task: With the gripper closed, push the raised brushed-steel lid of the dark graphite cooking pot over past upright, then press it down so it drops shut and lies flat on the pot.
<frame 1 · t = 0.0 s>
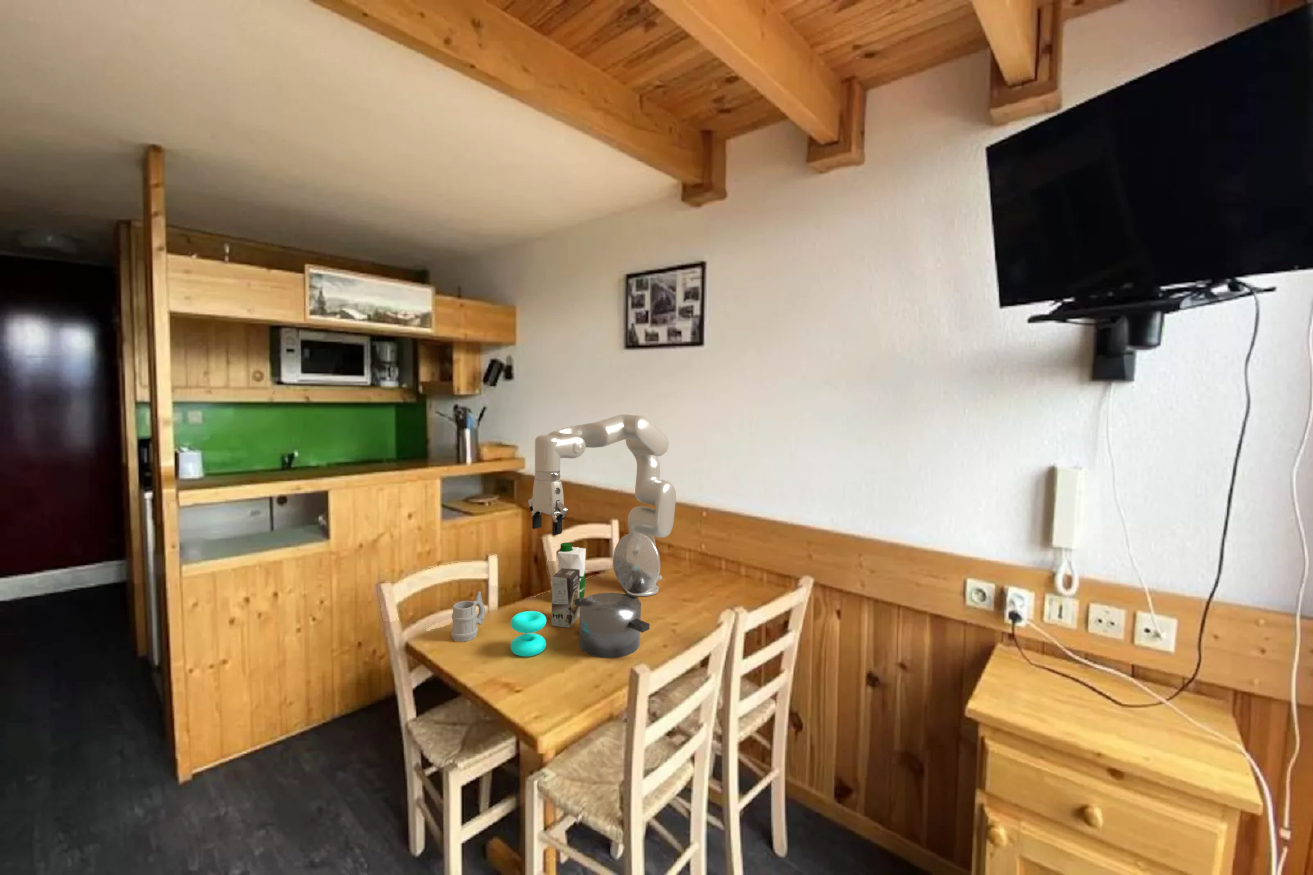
hand: (546, 531, 171), 31 cm above the table, tool pointing down, fingers open, 9 cm apart
donuts: (528, 650, 161), on the table
cooker pot: (609, 642, 167), on the table
lid: (637, 562, 173), point 22 cm above the table, hinge at -98.0°
coffee box: (565, 621, 181), on the table
mug: (469, 634, 170), on the table
milk carton: (571, 600, 198), on the table
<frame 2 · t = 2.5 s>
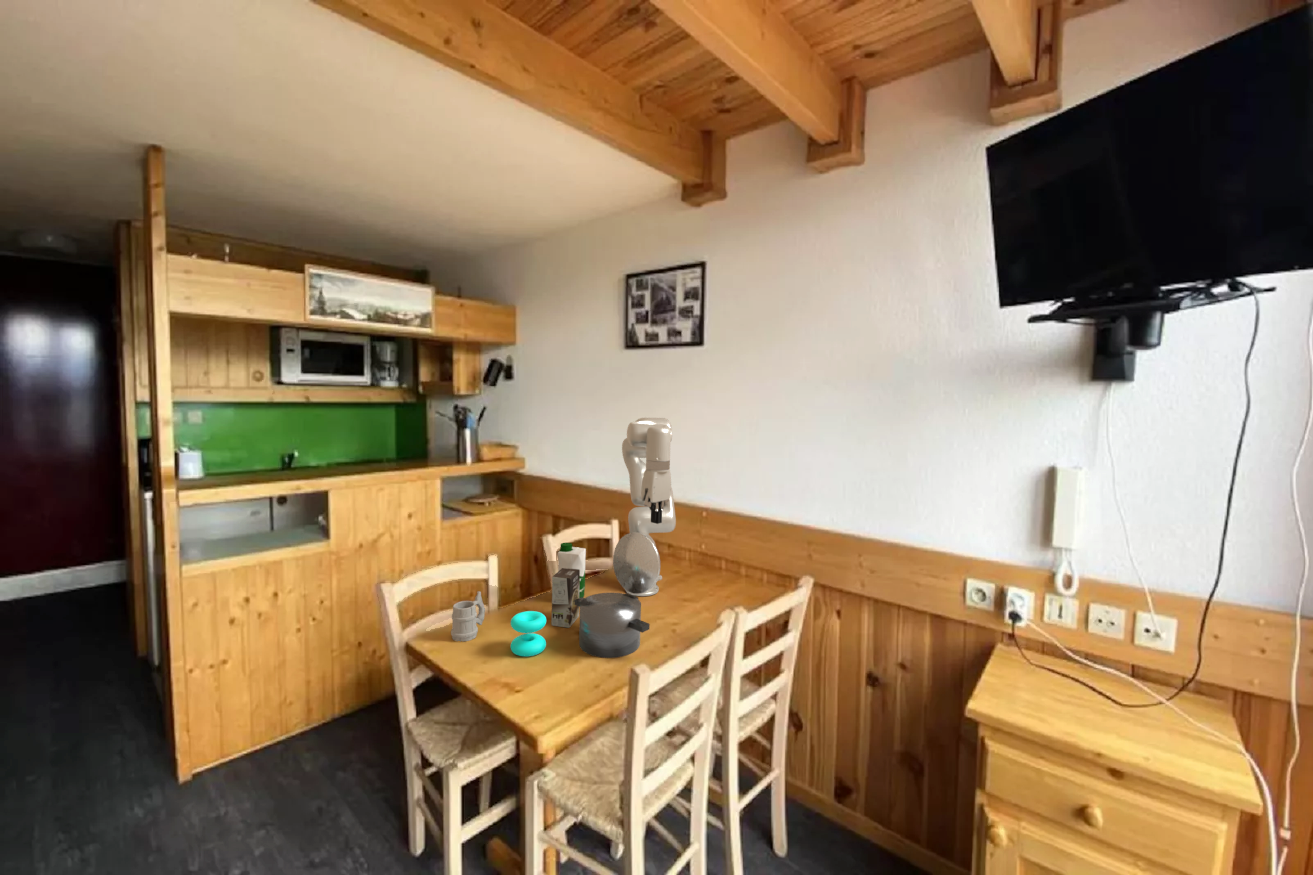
hand: (656, 522, 178), 33 cm above the table, tool pointing down, fingers closed
nothing on the table moved.
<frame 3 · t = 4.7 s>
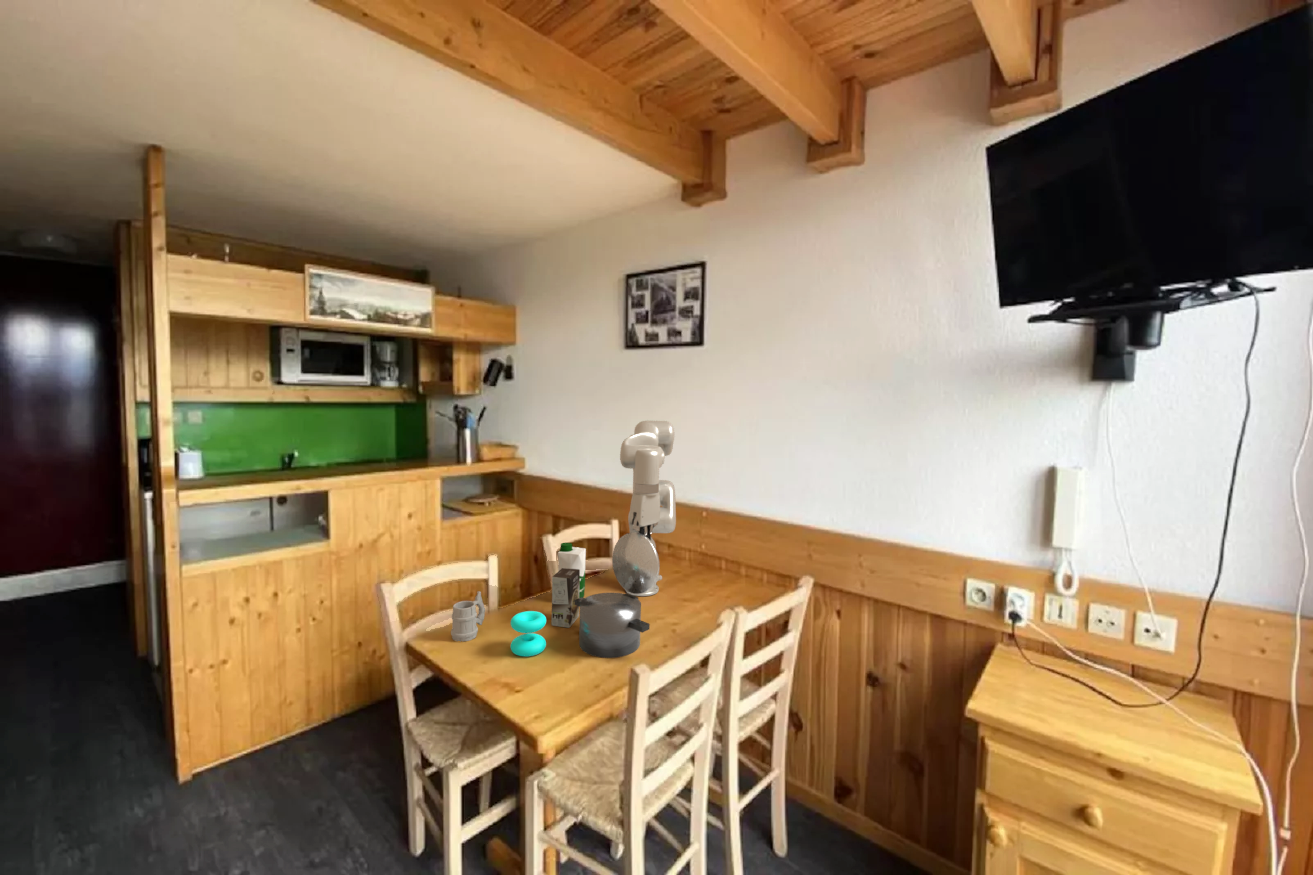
hand: (645, 546, 175), 26 cm above the table, tool pointing down, fingers closed
lid: (636, 562, 173), point 22 cm above the table, hinge at -95.6°, touching gripper
everything else where it was.
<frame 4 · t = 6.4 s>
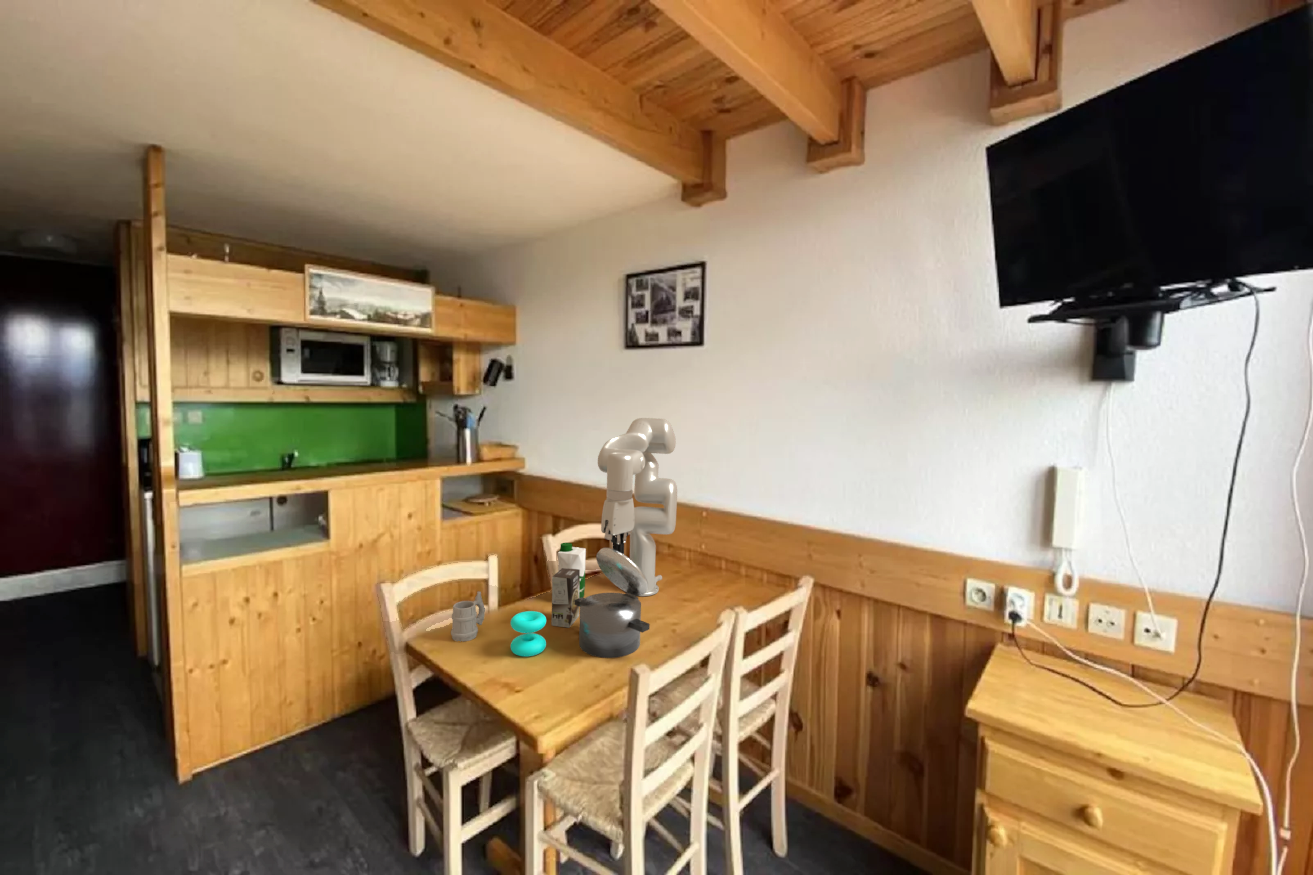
hand: (618, 555, 166), 26 cm above the table, tool pointing down, fingers closed
lid: (623, 570, 168), point 21 cm above the table, hinge at -58.0°, touching gripper
everything else where it was.
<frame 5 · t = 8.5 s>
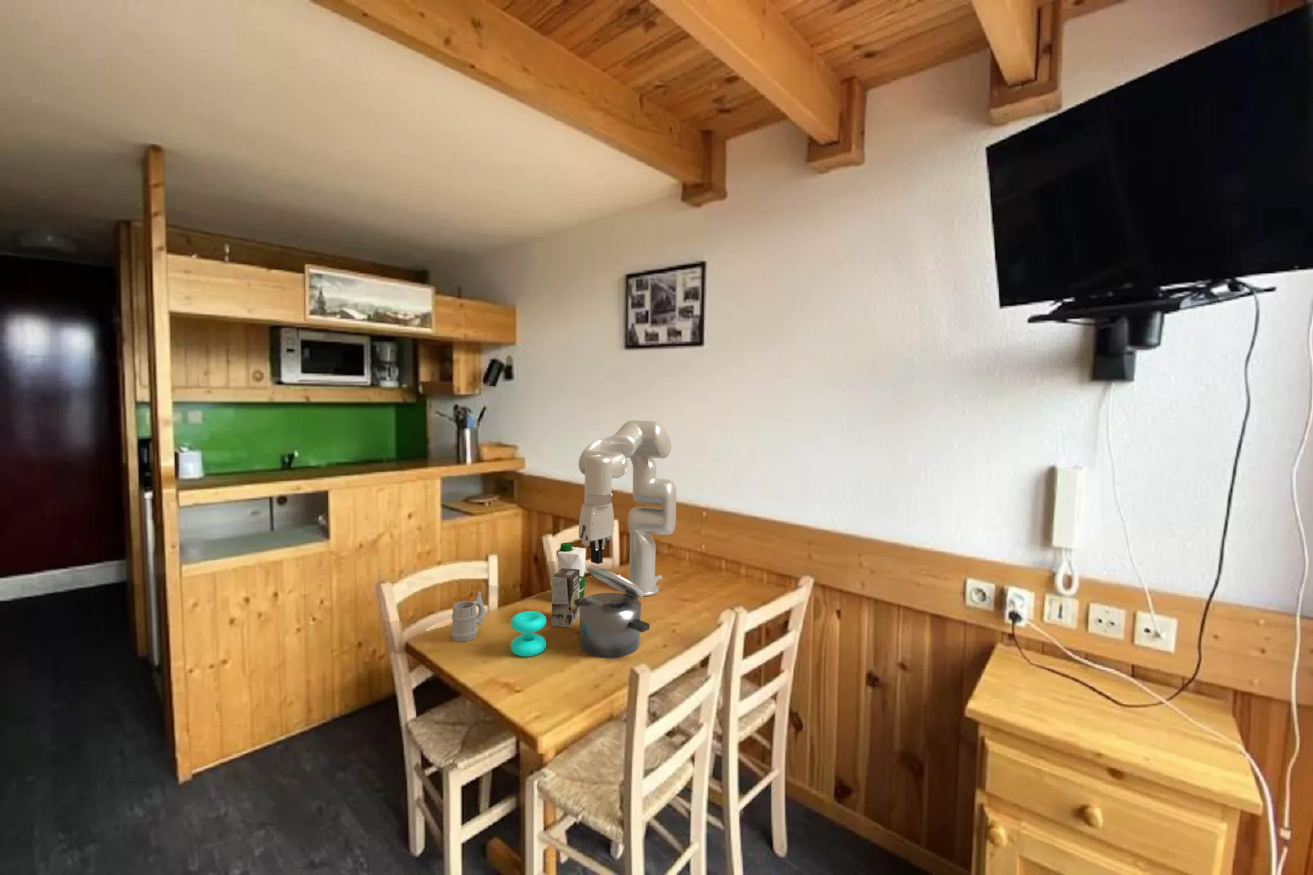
hand: (596, 562, 159), 26 cm above the table, tool pointing down, fingers closed
lid: (616, 578, 167), point 19 cm above the table, hinge at -37.5°
everything else where it was.
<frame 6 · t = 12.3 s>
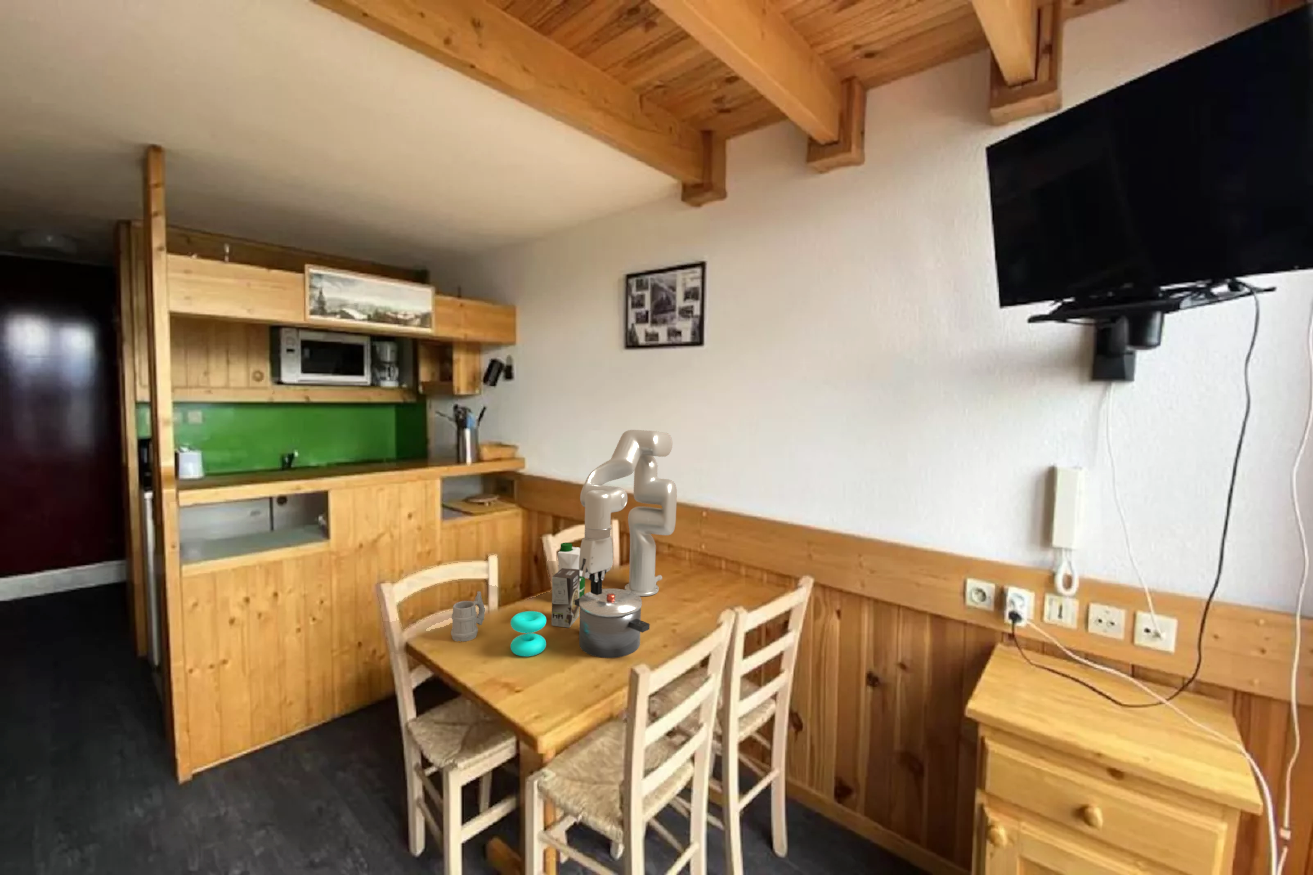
hand: (596, 593, 166), 15 cm above the table, tool pointing down, fingers closed
lid: (610, 599, 165), point 13 cm above the table, hinge at 0.0°, touching cooker pot
everything else where it was.
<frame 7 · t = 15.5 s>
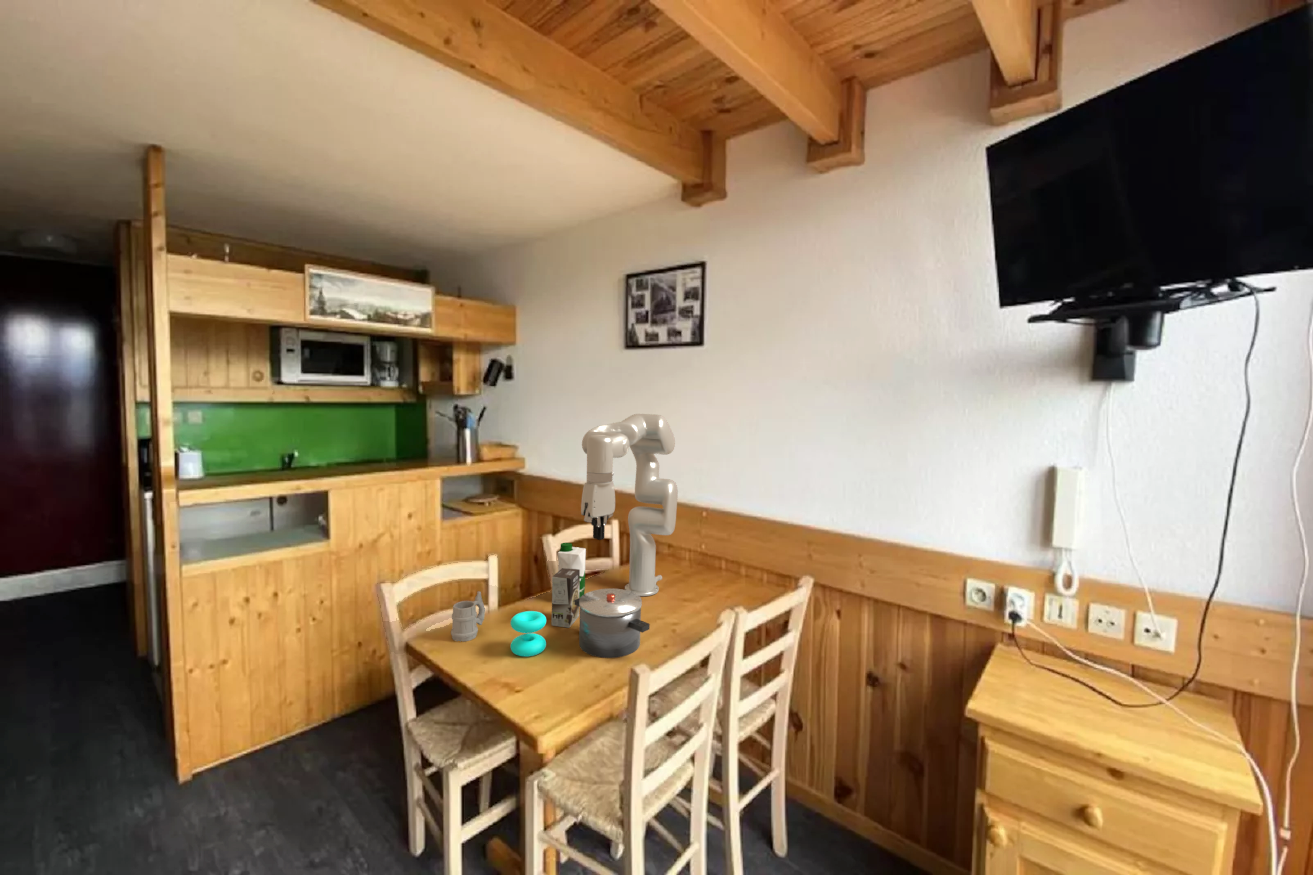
hand: (598, 538, 165), 31 cm above the table, tool pointing down, fingers closed
nothing on the table moved.
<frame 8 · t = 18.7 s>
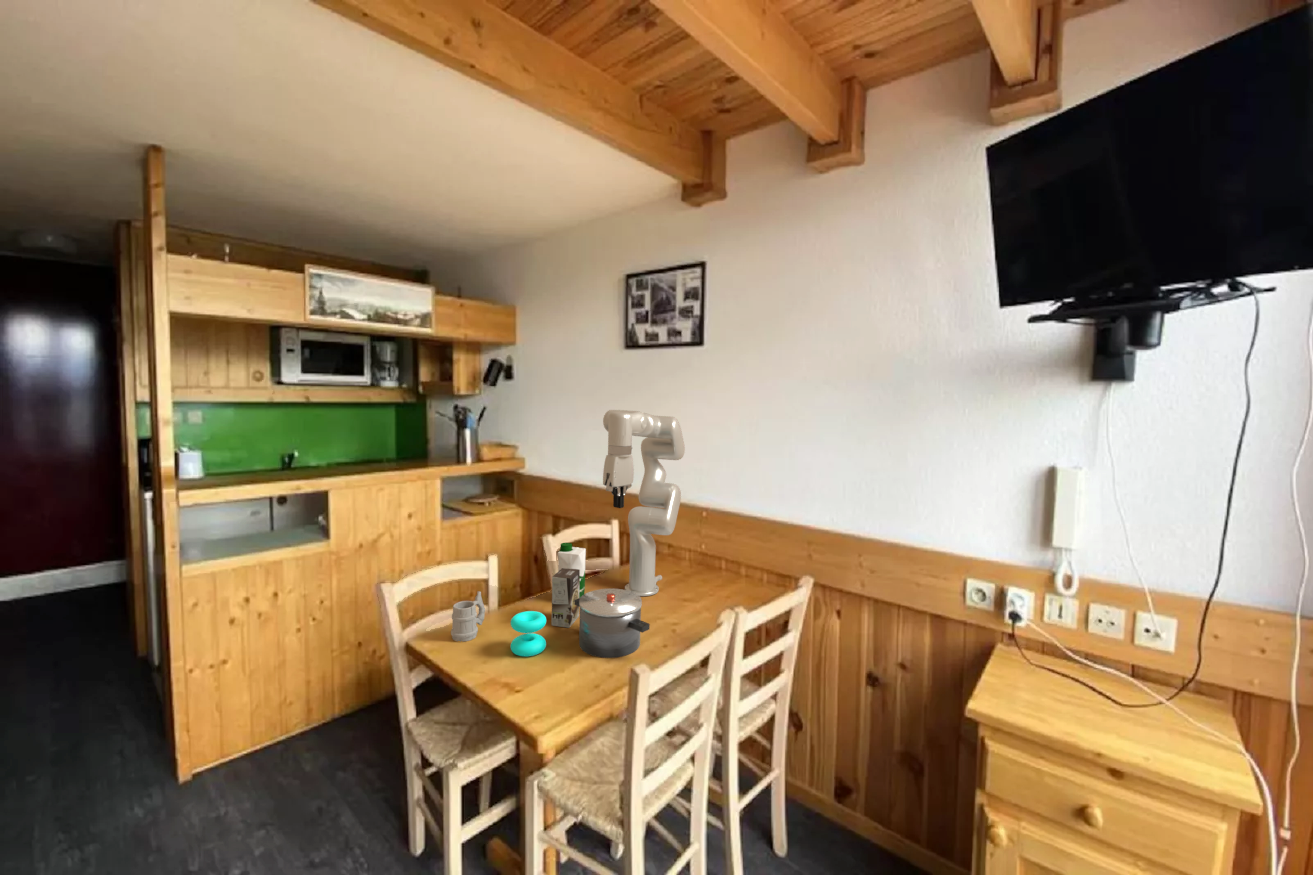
hand: (618, 507, 180), 37 cm above the table, tool pointing down, fingers closed
nothing on the table moved.
at the end: lid at +0° (first picture: -98°); lid touching cooker pot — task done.
